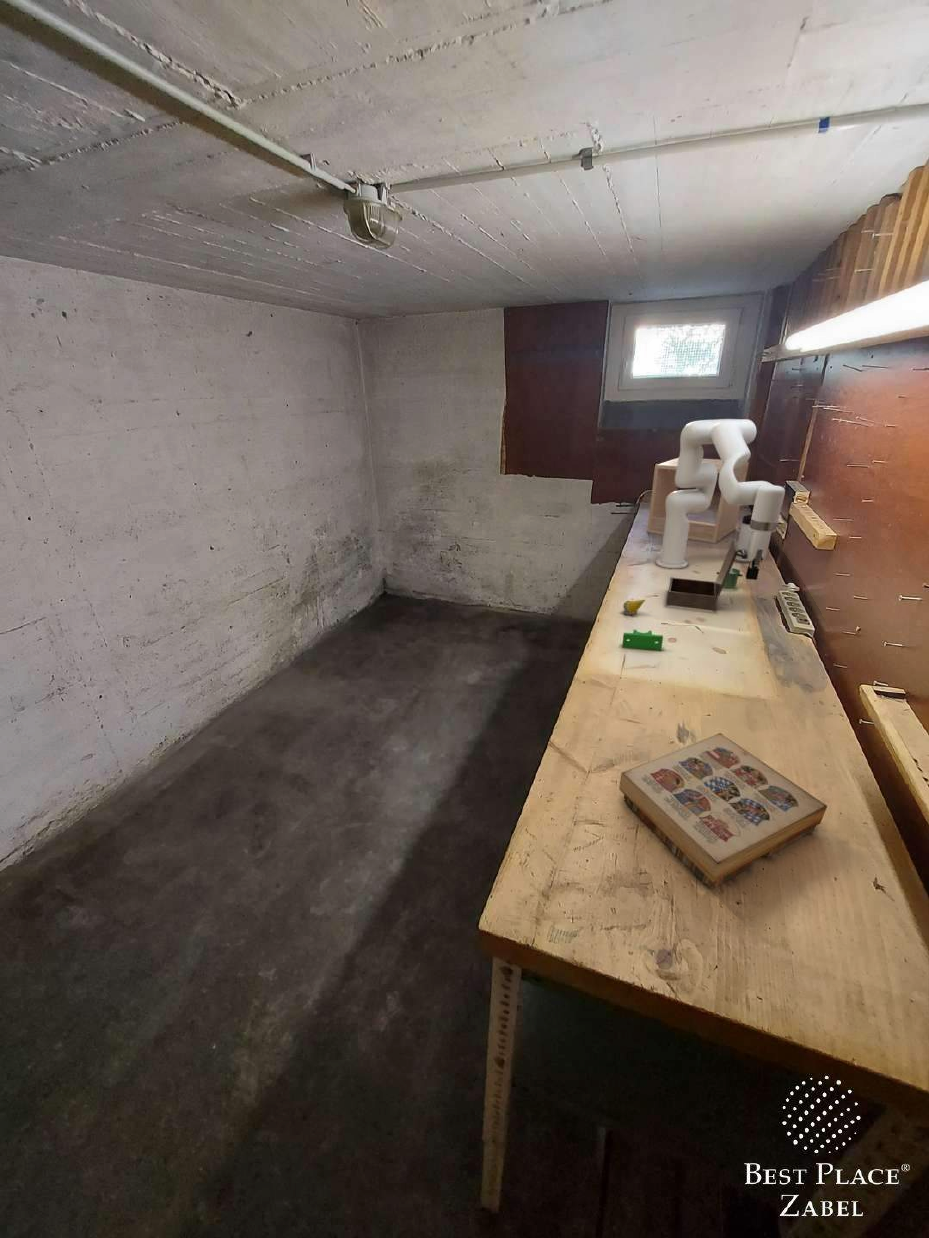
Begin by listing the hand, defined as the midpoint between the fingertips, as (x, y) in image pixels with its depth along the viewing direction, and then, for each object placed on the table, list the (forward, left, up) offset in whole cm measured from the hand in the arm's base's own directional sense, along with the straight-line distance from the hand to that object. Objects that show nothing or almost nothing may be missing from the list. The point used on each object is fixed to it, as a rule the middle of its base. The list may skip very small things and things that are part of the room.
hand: (751, 578), depth 163 cm
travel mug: (-39, +36, -11) cm, 54 cm away
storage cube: (-86, +47, -11) cm, 99 cm away
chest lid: (-5, -6, +3) cm, 9 cm away
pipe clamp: (+11, -48, -11) cm, 51 cm away
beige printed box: (+69, -72, -11) cm, 100 cm away
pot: (-17, +8, -11) cm, 22 cm away
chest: (-11, -13, -11) cm, 21 cm away
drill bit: (-9, -38, -11) cm, 41 cm away
